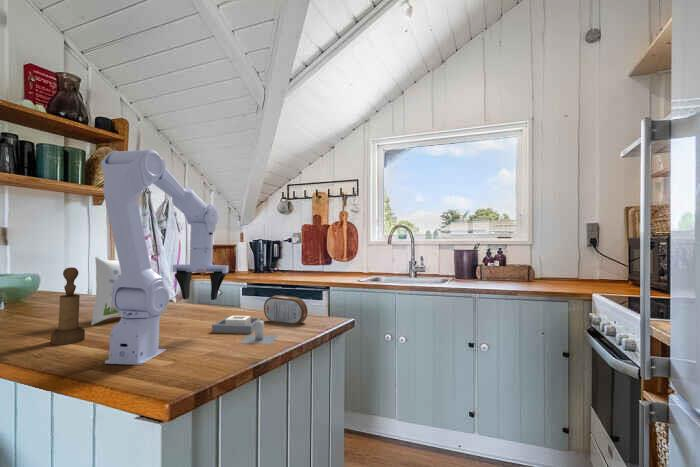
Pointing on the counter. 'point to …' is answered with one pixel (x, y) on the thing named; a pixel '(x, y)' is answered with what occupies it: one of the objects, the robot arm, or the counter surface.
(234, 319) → the ring
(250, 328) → the tray
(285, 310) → the tin
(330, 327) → the counter surface
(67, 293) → the brown tall wooden piece
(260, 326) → the grey plate with post
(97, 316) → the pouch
